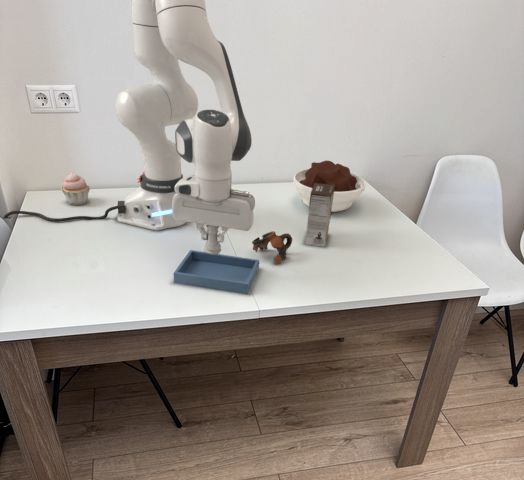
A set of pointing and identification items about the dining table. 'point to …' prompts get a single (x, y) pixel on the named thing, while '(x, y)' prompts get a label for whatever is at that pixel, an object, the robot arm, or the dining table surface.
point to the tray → (217, 272)
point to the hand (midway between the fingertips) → (212, 240)
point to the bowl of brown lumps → (330, 183)
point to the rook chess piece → (212, 241)
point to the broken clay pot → (274, 244)
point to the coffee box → (319, 214)
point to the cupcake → (75, 189)
